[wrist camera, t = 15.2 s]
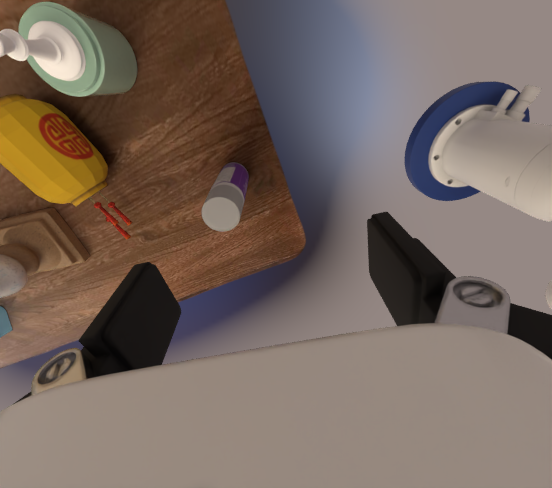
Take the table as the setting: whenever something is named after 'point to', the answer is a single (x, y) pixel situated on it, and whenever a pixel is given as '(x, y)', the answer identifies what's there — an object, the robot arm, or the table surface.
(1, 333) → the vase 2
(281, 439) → the robot arm
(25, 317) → the table surface
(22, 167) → the lantern
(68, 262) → the candle holder
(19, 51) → the chess piece
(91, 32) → the upturned tumbler
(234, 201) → the container
